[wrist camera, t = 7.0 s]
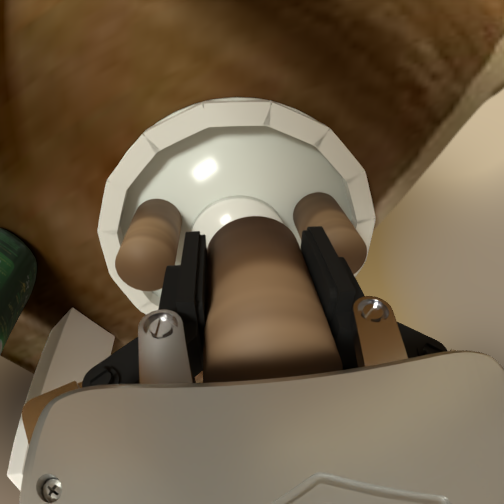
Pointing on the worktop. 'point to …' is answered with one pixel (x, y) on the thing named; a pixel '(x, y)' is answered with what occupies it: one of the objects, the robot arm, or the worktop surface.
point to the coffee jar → (14, 281)
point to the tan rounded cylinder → (262, 307)
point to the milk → (61, 370)
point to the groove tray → (230, 174)
